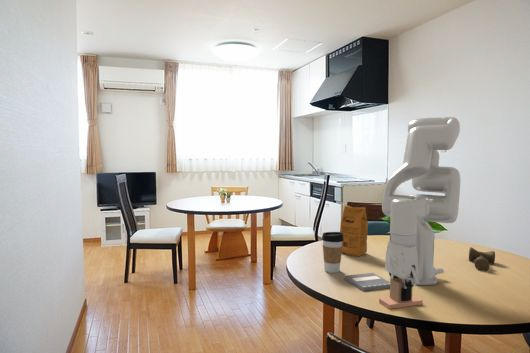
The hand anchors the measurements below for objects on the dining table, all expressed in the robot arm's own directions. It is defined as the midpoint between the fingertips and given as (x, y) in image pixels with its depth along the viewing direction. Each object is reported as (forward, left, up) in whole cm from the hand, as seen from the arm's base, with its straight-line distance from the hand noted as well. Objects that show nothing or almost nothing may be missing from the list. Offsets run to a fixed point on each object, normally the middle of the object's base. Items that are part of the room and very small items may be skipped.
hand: (400, 296), depth 109 cm
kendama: (-59, -24, -3) cm, 64 cm away
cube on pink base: (0, 0, -2) cm, 2 cm away
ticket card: (0, -18, -2) cm, 18 cm away
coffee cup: (+6, -34, -2) cm, 35 cm away
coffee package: (-15, -54, -2) cm, 56 cm away
